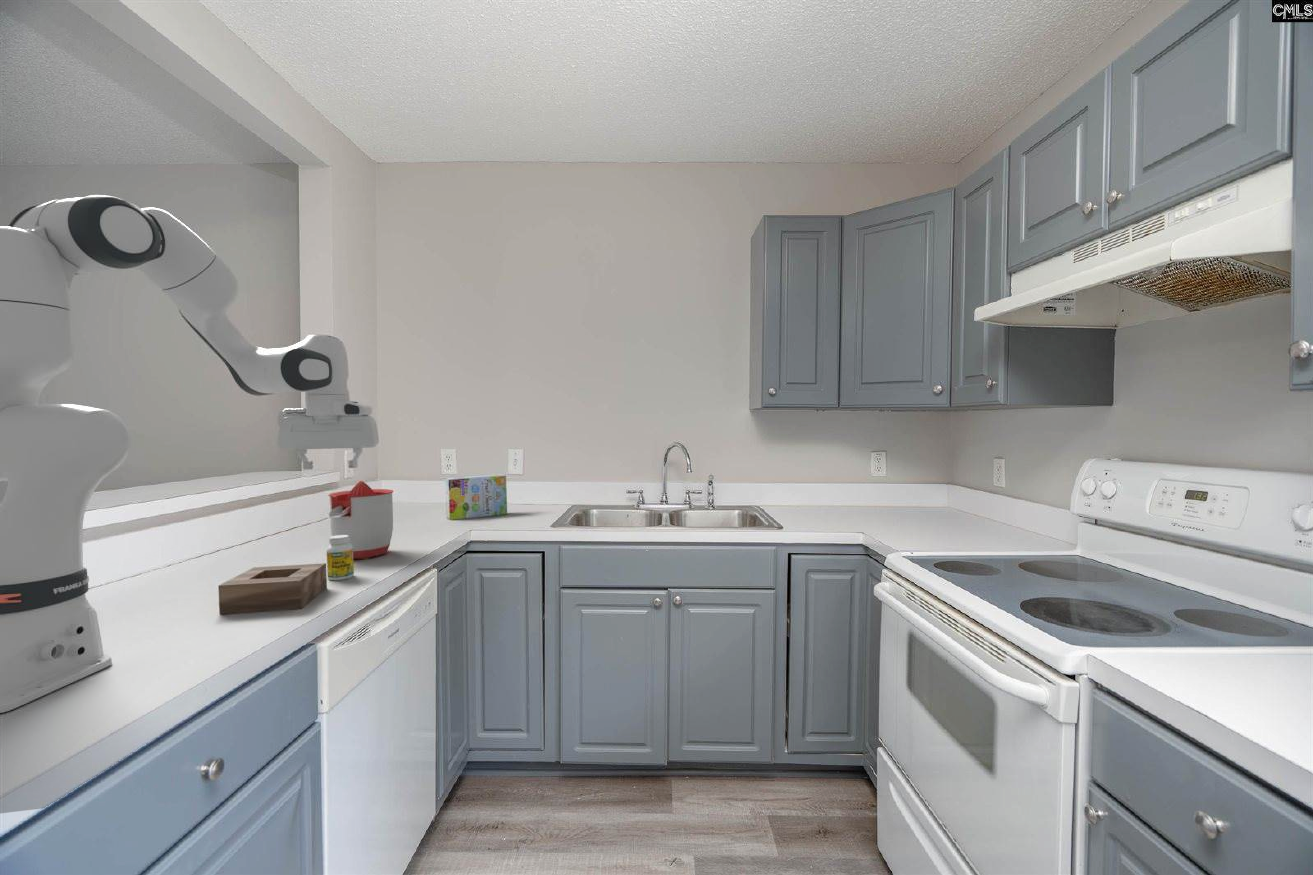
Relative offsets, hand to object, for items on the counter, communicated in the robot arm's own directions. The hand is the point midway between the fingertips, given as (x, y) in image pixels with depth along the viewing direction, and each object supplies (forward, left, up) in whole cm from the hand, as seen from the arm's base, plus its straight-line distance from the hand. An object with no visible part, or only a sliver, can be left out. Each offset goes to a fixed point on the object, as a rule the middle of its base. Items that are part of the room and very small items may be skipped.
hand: (330, 468), depth 135 cm
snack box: (+82, -23, -26) cm, 89 cm away
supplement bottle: (0, -1, -26) cm, 26 cm away
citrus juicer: (+23, +1, -26) cm, 35 cm away
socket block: (-16, +6, -25) cm, 30 cm away
